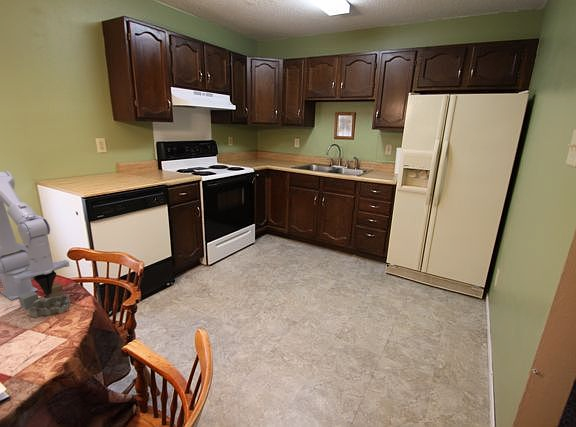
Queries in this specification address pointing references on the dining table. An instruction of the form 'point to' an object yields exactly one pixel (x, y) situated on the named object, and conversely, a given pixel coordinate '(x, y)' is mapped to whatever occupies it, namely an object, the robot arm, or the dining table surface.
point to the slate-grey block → (28, 299)
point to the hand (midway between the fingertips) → (47, 293)
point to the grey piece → (47, 302)
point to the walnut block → (56, 290)
